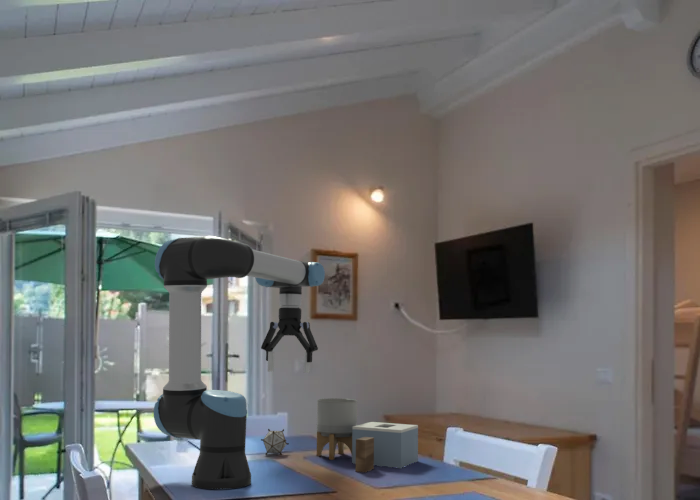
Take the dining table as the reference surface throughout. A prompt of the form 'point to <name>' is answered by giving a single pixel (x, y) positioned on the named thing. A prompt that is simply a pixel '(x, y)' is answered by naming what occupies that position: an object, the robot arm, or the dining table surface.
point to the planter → (335, 424)
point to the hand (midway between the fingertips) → (288, 372)
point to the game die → (274, 441)
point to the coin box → (389, 443)
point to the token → (364, 454)
